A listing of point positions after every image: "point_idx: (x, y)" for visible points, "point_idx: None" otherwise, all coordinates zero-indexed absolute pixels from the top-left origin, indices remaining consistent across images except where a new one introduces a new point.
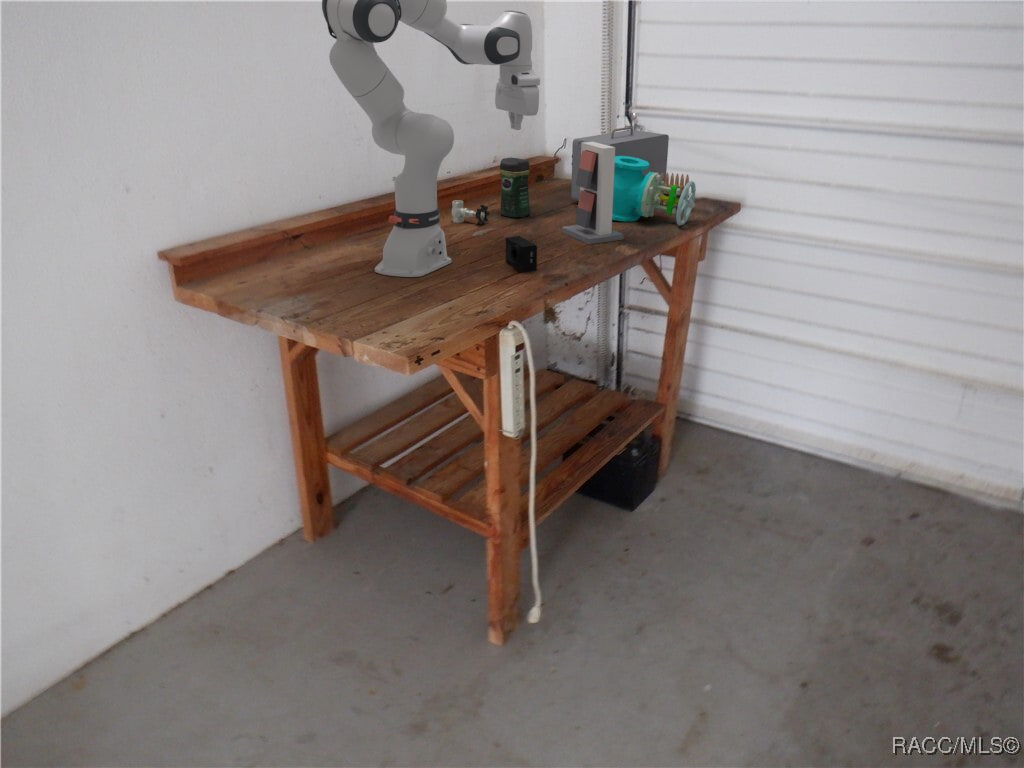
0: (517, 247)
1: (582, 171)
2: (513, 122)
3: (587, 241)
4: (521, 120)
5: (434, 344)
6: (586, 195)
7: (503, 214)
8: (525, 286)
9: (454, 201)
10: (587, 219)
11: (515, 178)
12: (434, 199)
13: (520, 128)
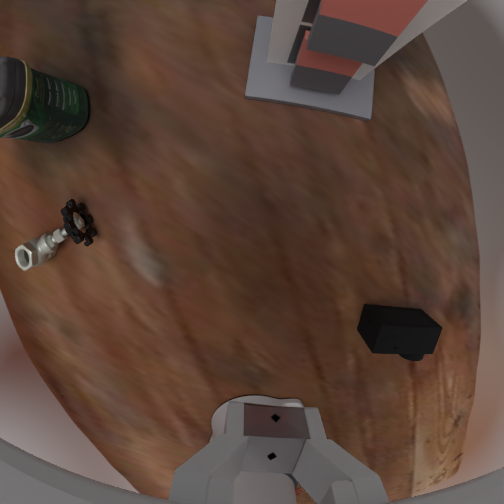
0: (421, 357)
1: (348, 27)
2: (248, 463)
3: (363, 118)
4: (349, 459)
5: (461, 459)
6: None
7: (54, 141)
8: (450, 356)
9: (18, 260)
10: (345, 84)
11: (28, 113)
12: (291, 493)
13: (317, 411)
